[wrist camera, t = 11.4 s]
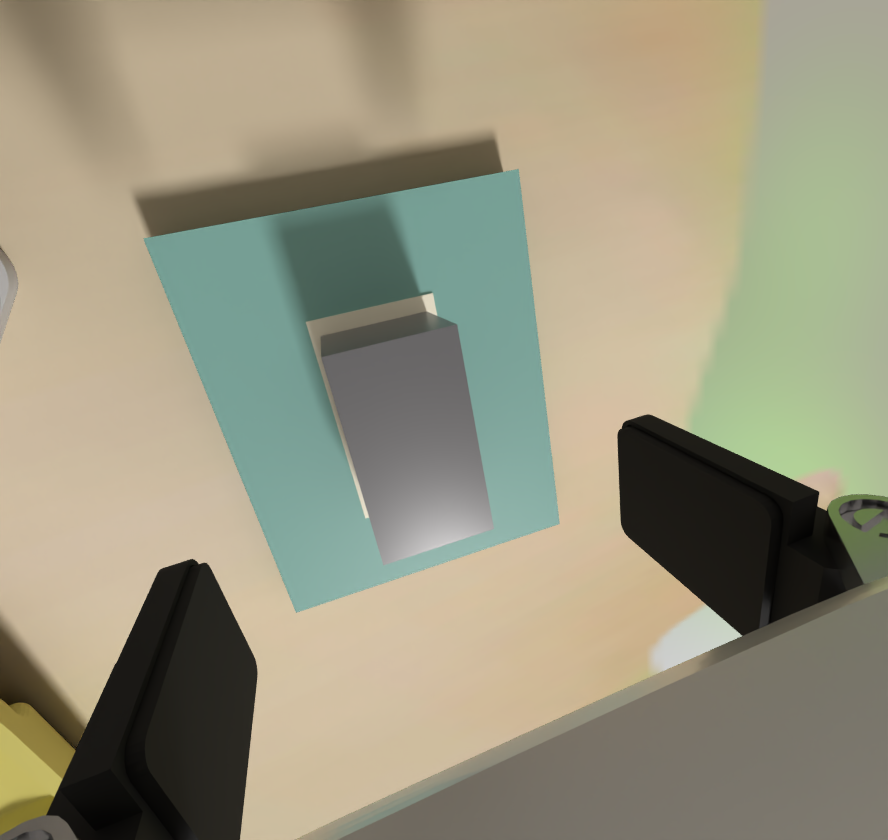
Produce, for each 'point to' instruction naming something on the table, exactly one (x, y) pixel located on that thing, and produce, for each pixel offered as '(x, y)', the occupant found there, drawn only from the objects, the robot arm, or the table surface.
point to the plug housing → (410, 431)
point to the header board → (351, 306)
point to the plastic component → (28, 764)
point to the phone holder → (6, 289)
